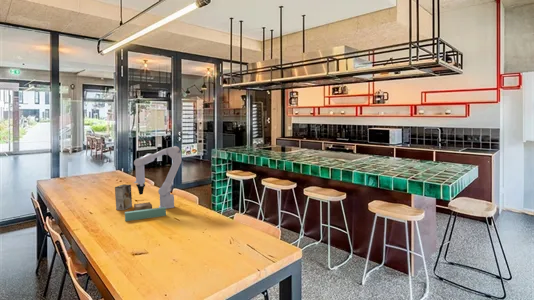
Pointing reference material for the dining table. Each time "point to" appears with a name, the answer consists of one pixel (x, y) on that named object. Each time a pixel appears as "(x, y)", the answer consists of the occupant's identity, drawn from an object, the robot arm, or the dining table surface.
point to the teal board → (145, 214)
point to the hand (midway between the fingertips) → (141, 194)
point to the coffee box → (123, 197)
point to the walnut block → (142, 206)
